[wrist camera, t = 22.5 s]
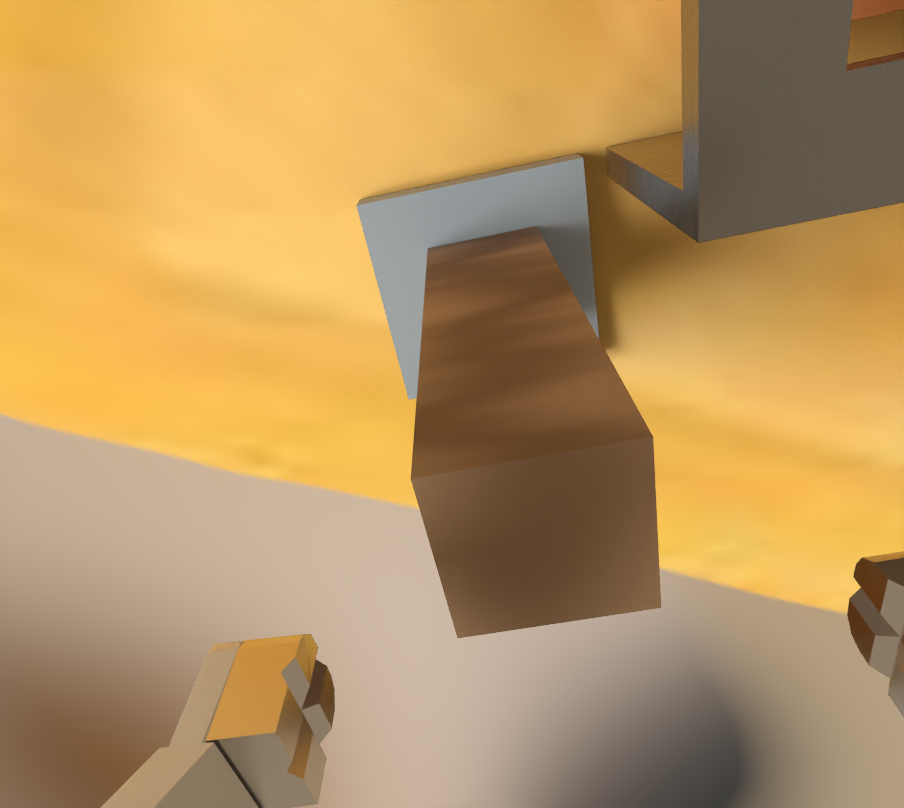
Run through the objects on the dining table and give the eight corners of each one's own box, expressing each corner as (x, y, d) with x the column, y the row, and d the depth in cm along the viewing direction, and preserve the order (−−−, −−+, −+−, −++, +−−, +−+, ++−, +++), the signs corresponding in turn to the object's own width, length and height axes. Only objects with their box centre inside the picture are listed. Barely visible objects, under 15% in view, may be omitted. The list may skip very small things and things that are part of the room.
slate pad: (577, 153, 22) (583, 157, 21) (596, 353, 26) (601, 364, 25) (359, 199, 22) (356, 205, 22) (409, 387, 26) (409, 399, 25)
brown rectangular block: (536, 226, 22) (653, 436, 10) (549, 327, 24) (661, 607, 12) (427, 248, 22) (411, 479, 10) (449, 346, 24) (457, 638, 12)
